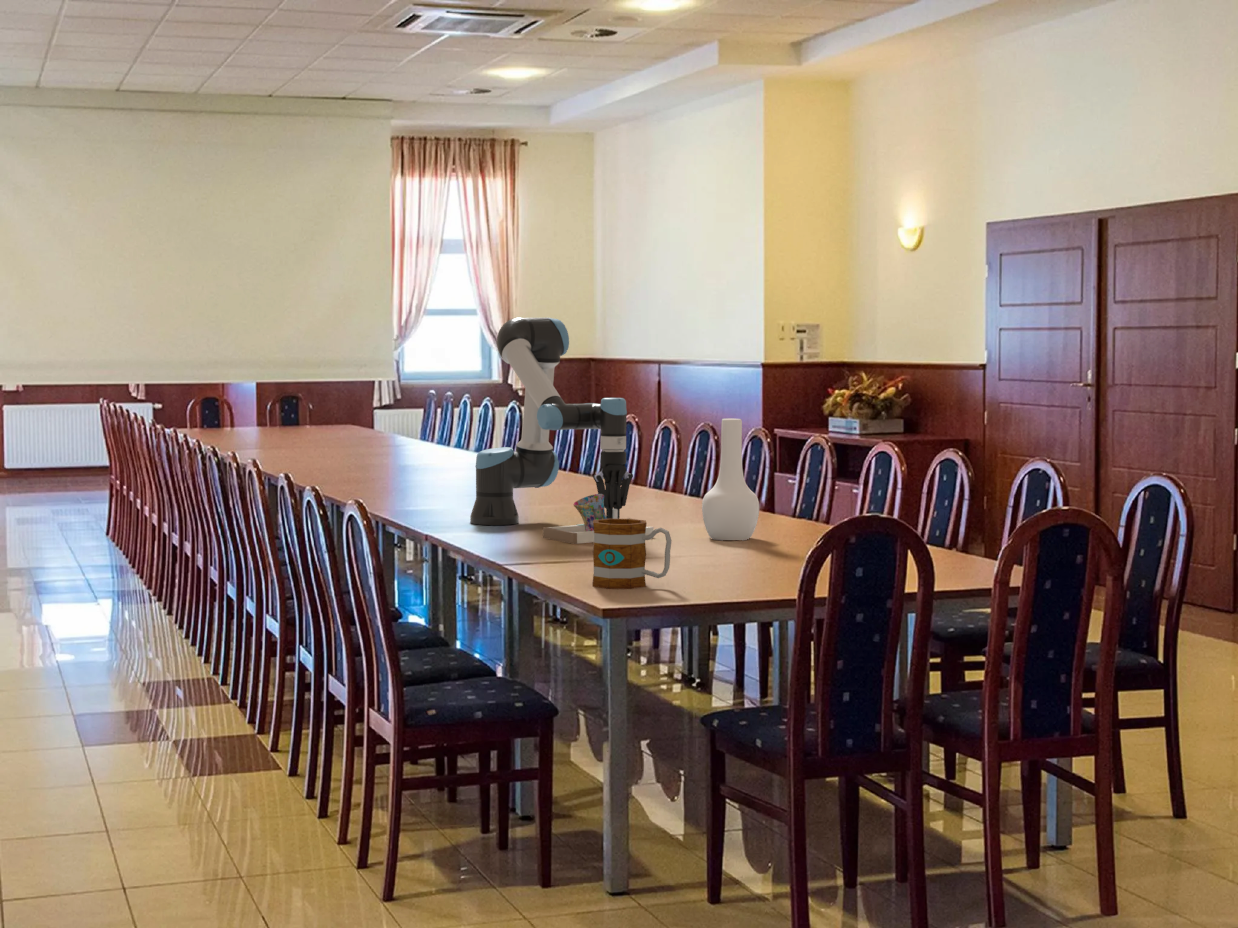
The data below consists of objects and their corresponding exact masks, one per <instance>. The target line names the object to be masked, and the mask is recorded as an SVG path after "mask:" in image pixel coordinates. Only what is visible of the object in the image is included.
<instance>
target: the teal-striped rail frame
mask: <svg viewBox="0 0 1238 928" xmlns="http://www.w3.org/2000/svg"><path fill="white" fill-rule="evenodd" d="M653 530H655V529H654V526H646V532H645V535H649V534H650V533H651V532H652V531H653ZM542 538H543V539H547V540H553V541H555V542H556V541H557V542H562V543H566V544H567V543H568V544H573V545H575V544H576V545H579V544H585V543H586V544H587V543H589V544H590V543H594V531H587V532H585V525H584V523H580V524H578V523H577V524H575V525H562V526H547V527H542Z"/></svg>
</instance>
